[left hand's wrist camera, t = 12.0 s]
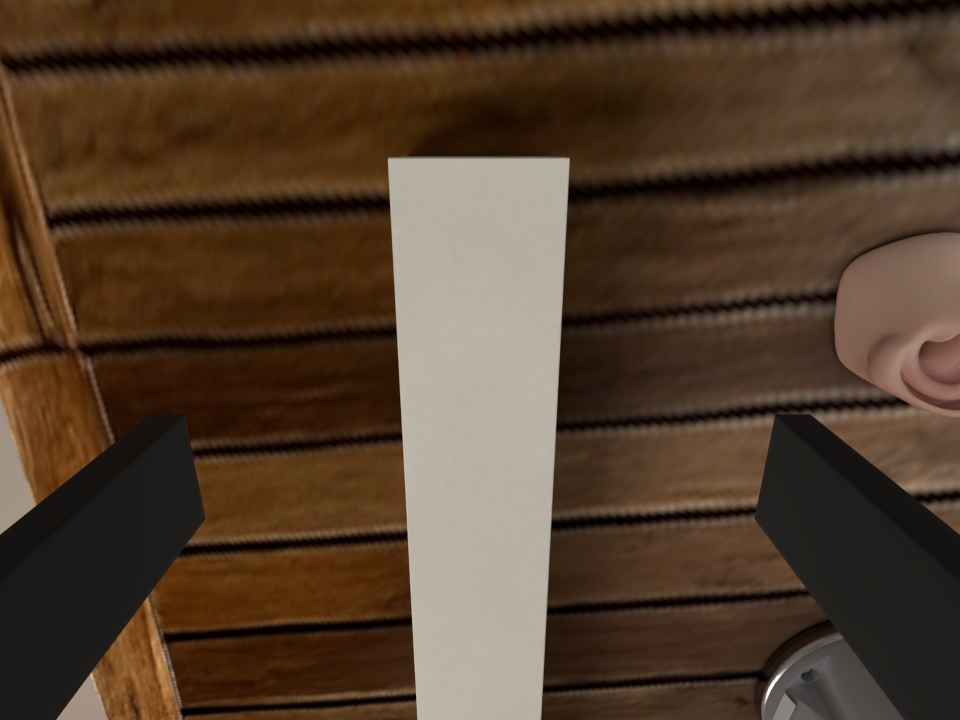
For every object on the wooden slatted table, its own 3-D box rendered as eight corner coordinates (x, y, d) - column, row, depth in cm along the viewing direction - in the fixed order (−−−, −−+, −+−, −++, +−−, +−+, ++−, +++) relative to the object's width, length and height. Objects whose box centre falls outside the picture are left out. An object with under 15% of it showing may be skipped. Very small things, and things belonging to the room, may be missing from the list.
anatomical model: (841, 301, 33) (1041, 189, 31) (804, 286, 37) (981, 185, 35) (914, 467, 37) (1097, 378, 35) (874, 438, 41) (1037, 356, 39)
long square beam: (405, 156, 34) (387, 157, 27) (551, 156, 34) (570, 157, 27) (435, 846, 57) (429, 943, 50) (523, 845, 57) (529, 942, 50)
